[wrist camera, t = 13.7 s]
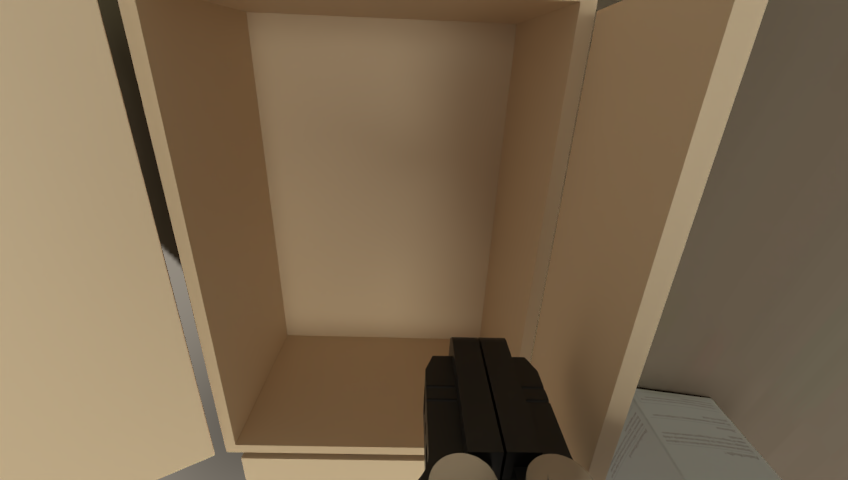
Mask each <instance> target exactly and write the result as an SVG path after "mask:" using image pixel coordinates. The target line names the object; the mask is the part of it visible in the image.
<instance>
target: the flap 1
mask: <svg viewBox="0 0 848 480" xmlns="http://www.w3.org/2000/svg"><path fill="white" fill-rule="evenodd" d="M214 455H215V453H214V448H213V444H212V440H211V436H210V432H209V428H208V425H207V421H206V417H205V413H204V409H203V405H202V401H201V398H200V394H199V390H198V387H197V383H196V378H195V375H194V371H193V367H192V363H191V359H190V355H189V351H188V347H187V344H186V340H185V336H184V332H183V328H182V325H181V320H180V317H179V313H178V309H177V305H176V302H175V298H174V293H173V290H172V286H171V282H170V278H169V274H168V270H167V266H166V263H165V259H164V255H163V251H162V247H161V243H160V239H159V236H158V232H157V228H156V224H155V220H154V216H153V212H152V209H151V205H150V201H149V197H148V193H147V189H146V185H145V181H144V178H143V174H142V170H141V166H140V162H139V158H138V154H137V151H136V147H135V143H134V139H133V135H132V131H131V127H130V124H129V120H128V116H127V112H126V108H125V104H124V100H123V97H122V93H121V89H120V85H119V81H118V77H117V73H116V70H115V66H114V62H113V58H112V54H111V50H110V46H109V43H108V39H107V35H106V31H105V27H104V23H103V19H102V16H101V12H100V8H99V4H98V0H0V480H158V479H160V478H162V477H165V476H167V475H169V474H172V473H174V472H176V471H179V470H181V469H184V468H186V467H188V466H191V465H193V464H195V463H198V462H200V461H203V460H205V459H207V458H209V457H212V456H214Z"/></svg>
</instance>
